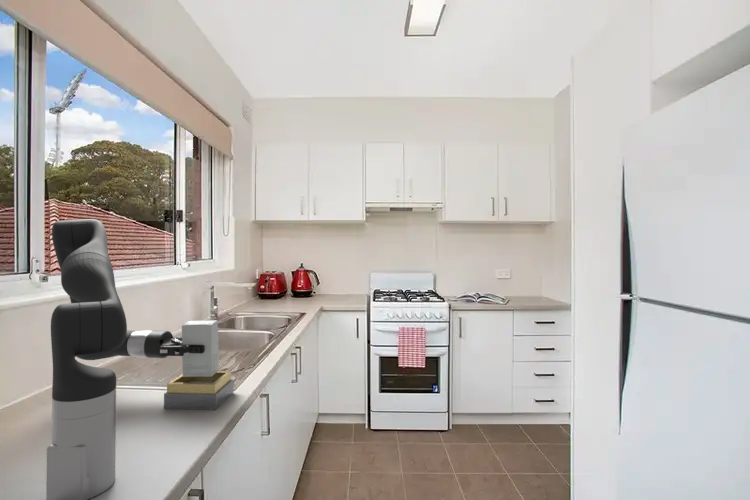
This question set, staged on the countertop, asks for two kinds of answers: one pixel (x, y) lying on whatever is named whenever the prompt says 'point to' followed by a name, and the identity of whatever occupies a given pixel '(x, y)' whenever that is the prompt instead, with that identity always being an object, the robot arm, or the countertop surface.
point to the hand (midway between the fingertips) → (209, 346)
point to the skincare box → (208, 337)
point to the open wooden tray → (198, 391)
